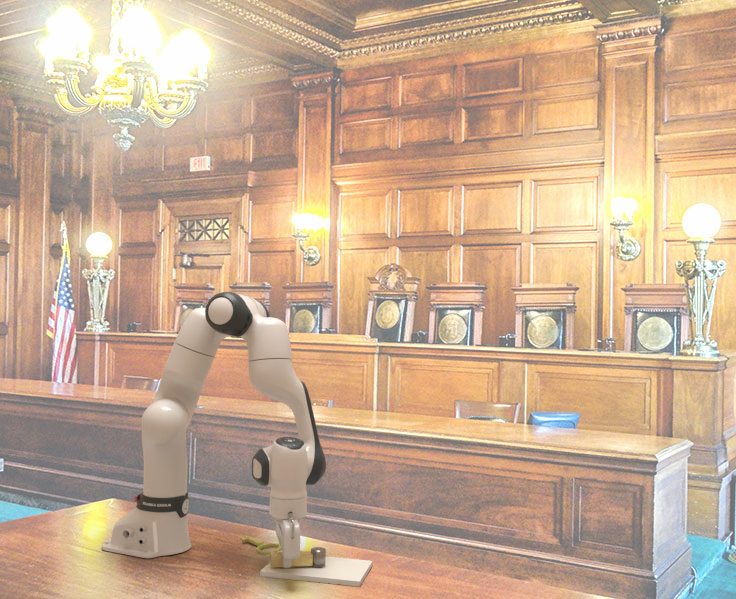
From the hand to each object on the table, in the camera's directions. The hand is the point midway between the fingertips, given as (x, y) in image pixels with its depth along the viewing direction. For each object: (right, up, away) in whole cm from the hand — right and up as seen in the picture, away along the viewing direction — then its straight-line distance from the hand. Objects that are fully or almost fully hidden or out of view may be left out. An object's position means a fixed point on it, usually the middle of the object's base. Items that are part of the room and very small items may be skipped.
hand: (286, 566), depth 188 cm
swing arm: (+2, -1, +3) cm, 4 cm away
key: (-9, -3, +21) cm, 23 cm away
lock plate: (+7, -3, +4) cm, 9 cm away
